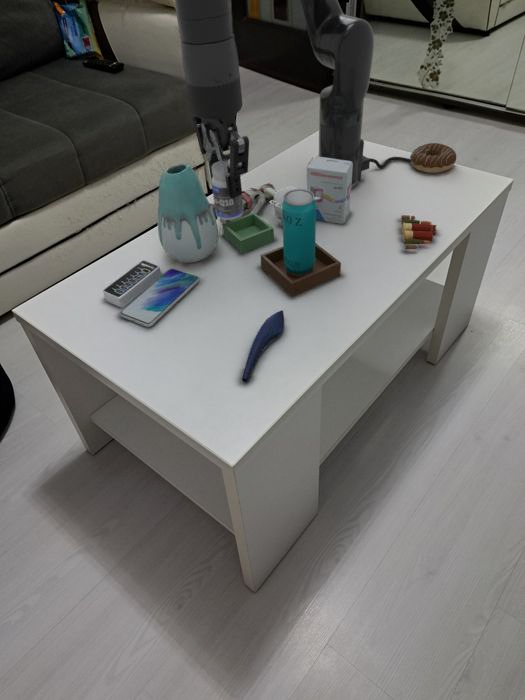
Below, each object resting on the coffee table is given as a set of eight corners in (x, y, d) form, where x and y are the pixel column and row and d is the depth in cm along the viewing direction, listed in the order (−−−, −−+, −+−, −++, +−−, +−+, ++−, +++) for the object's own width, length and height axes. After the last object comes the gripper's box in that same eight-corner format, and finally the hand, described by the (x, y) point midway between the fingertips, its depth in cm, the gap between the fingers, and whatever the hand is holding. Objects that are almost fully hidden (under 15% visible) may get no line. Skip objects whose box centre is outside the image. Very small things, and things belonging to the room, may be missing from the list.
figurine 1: (203, 202, 100) (260, 174, 113) (205, 228, 104) (261, 199, 117) (226, 207, 98) (282, 179, 110) (228, 235, 101) (282, 204, 114)
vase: (152, 255, 101) (130, 170, 88) (194, 230, 106) (179, 147, 93) (189, 277, 95) (171, 189, 82) (232, 249, 100) (222, 163, 88)
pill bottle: (211, 218, 83) (203, 170, 77) (223, 204, 86) (216, 157, 80) (237, 222, 81) (231, 174, 75) (248, 208, 84) (243, 160, 78)
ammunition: (404, 252, 96) (438, 254, 95) (406, 243, 94) (441, 244, 94) (400, 220, 104) (431, 222, 104) (402, 211, 103) (434, 212, 102)
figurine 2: (273, 217, 111) (253, 225, 103) (277, 178, 107) (257, 184, 99) (324, 228, 107) (307, 237, 99) (330, 188, 103) (313, 194, 95)
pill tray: (255, 224, 106) (254, 212, 104) (274, 240, 102) (273, 228, 100) (223, 236, 104) (222, 223, 102) (241, 253, 99) (240, 240, 97)
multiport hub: (105, 300, 91) (101, 290, 90) (145, 269, 97) (143, 259, 96) (122, 308, 89) (119, 298, 88) (162, 275, 95) (160, 265, 94)
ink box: (305, 219, 107) (305, 166, 98) (312, 207, 110) (313, 155, 102) (343, 225, 104) (347, 171, 96) (350, 213, 107) (354, 160, 99)
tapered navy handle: (253, 389, 76) (255, 380, 74) (232, 380, 76) (233, 371, 74) (290, 318, 85) (292, 309, 83) (271, 311, 85) (273, 302, 83)
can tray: (307, 249, 99) (307, 236, 97) (340, 275, 92) (341, 262, 90) (261, 268, 95) (260, 255, 93) (292, 297, 89) (291, 283, 87)
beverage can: (293, 257, 96) (291, 185, 86) (319, 265, 94) (322, 191, 83) (278, 273, 93) (275, 200, 82) (306, 282, 91) (306, 207, 80)
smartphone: (117, 313, 87) (170, 267, 96) (119, 317, 88) (171, 271, 96) (149, 325, 84) (200, 276, 93) (150, 329, 85) (201, 280, 93)
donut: (463, 170, 118) (467, 153, 115) (423, 179, 116) (426, 162, 113) (439, 153, 125) (442, 137, 122) (401, 161, 123) (403, 145, 120)
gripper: (262, 81, 65) (270, 199, 77) (212, 57, 74) (226, 167, 86) (211, 95, 63) (227, 215, 75) (166, 68, 71) (187, 180, 84)
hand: (226, 189), depth 80 cm, fingers closed on pill bottle, 4 cm apart
